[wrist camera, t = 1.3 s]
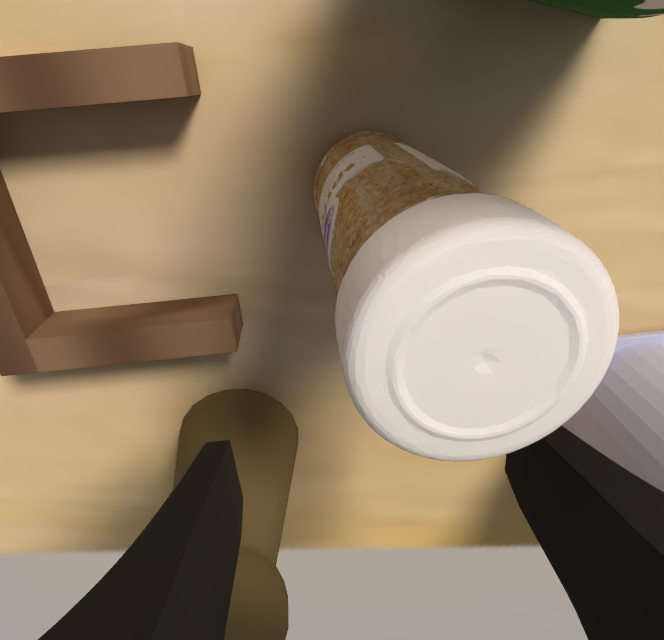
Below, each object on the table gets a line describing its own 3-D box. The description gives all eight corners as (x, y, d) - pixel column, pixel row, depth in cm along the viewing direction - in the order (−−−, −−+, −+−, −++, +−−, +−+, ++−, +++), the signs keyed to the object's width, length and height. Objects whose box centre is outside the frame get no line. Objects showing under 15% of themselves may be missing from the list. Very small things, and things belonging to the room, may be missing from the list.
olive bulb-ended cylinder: (220, 496, 26) (177, 741, 17) (155, 419, 24) (58, 656, 14) (318, 454, 26) (333, 687, 16) (262, 370, 23) (239, 585, 13)
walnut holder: (192, 47, 17) (176, 42, 15) (242, 324, 22) (236, 351, 20) (-84, 70, 17) (-142, 68, 14) (31, 345, 22) (1, 376, 19)
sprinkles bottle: (299, 146, 19) (309, 268, 7) (413, 115, 18) (640, 181, 6) (328, 255, 21) (376, 498, 9) (431, 228, 20) (627, 438, 8)
